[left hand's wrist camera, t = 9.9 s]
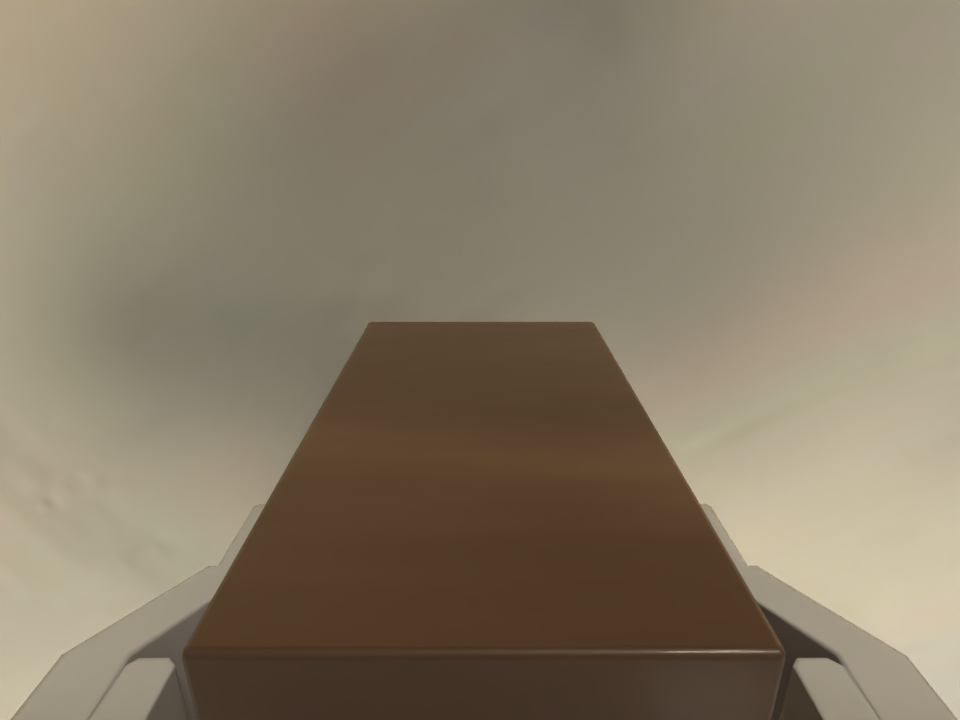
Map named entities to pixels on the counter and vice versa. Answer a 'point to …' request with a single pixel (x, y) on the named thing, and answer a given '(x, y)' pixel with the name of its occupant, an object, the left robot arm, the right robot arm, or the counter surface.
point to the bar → (483, 551)
